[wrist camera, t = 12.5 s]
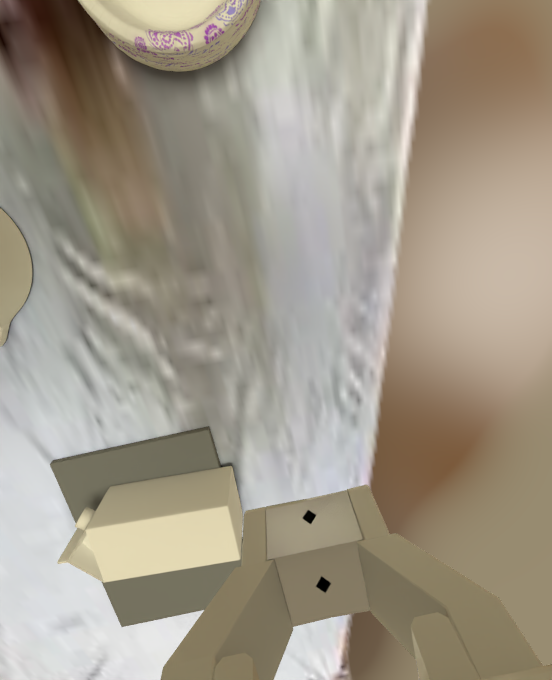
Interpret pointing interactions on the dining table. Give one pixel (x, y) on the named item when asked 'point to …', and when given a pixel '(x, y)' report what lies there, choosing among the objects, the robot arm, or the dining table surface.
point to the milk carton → (159, 526)
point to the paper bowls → (173, 29)
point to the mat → (138, 465)
